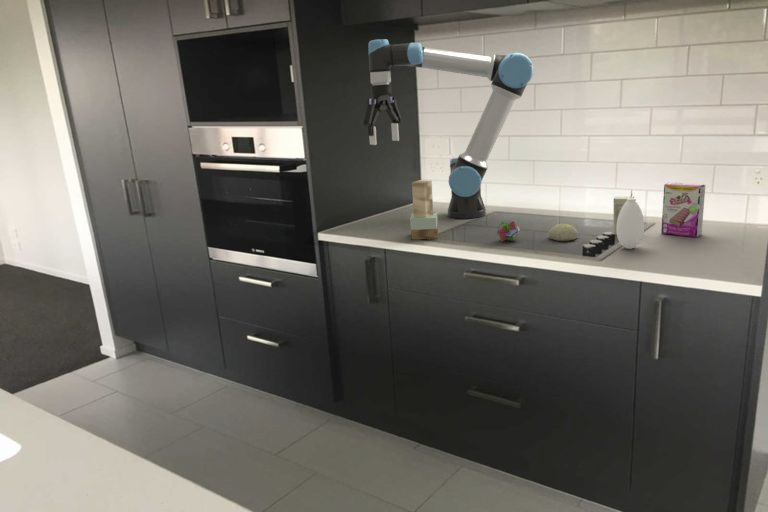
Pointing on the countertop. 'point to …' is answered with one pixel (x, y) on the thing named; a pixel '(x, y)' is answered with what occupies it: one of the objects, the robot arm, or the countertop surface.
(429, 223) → the tower top block
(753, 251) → the countertop surface
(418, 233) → the tower base block
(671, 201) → the candy bar box
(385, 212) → the countertop surface
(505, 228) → the geometric puzzle
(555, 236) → the sea urchin shell
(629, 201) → the white air blower bulb
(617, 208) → the skincare box
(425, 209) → the tall oak block
